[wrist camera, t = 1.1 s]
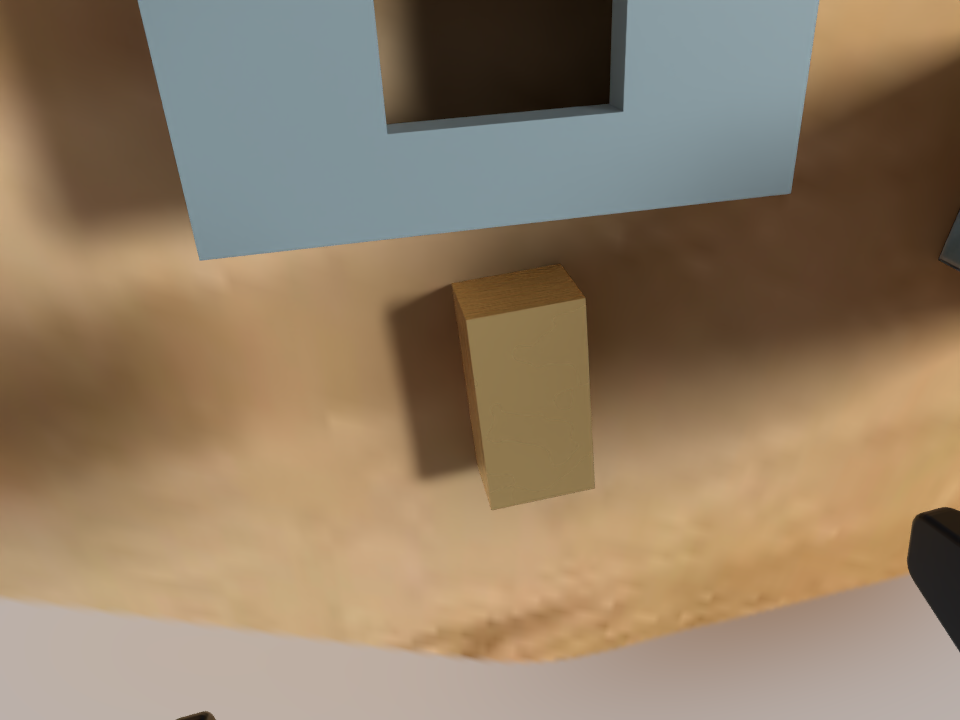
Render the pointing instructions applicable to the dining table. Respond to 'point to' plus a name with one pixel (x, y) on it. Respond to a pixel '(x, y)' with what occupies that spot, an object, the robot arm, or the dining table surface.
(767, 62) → the blue-grey hollow frame
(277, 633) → the dining table surface
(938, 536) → the robot arm
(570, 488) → the tan wooden post
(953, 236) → the juice carton
